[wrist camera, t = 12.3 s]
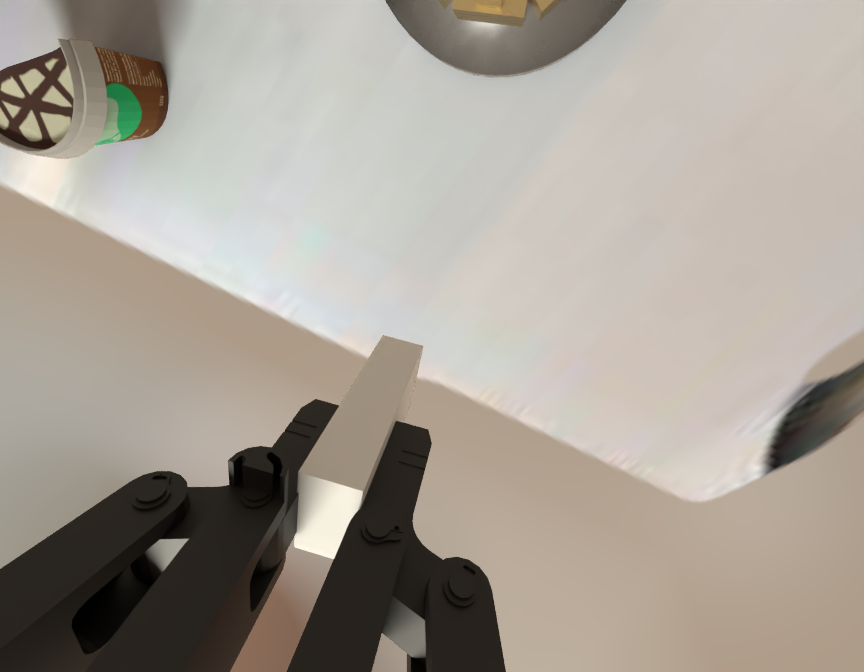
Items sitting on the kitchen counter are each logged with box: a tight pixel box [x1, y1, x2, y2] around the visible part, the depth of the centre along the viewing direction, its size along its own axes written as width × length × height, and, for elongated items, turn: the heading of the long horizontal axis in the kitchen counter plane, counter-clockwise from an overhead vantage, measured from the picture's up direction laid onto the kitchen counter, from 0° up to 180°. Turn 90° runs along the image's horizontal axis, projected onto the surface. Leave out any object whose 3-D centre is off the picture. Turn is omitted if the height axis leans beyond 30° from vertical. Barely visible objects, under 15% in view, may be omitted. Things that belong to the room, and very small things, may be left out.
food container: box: [0, 39, 168, 159], centre depth 34 cm, size 12×6×10 cm, turn 103°
